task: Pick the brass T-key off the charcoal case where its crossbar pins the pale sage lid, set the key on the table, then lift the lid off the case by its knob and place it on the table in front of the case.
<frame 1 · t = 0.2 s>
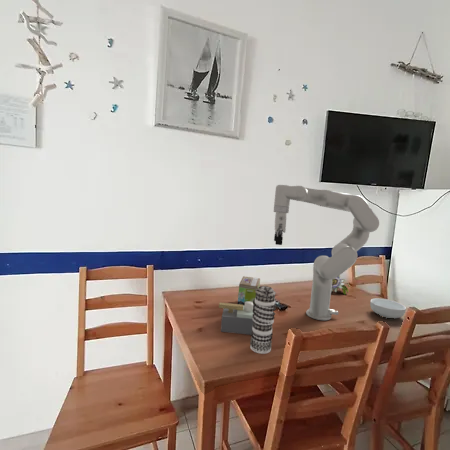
hand: (277, 242, 153), 37 cm above the table, fingers open, 9 cm apart
case: (240, 327, 137), on the table
passion flower: (336, 291, 198), on the table
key: (230, 311, 136), point 7 cm above the table, touching case
tea box: (247, 307, 161), on the table
cereal bowl: (386, 316, 163), on the table
lid: (248, 313, 136), point 7 cm above the table, touching case
decorative candle: (260, 348, 121), on the table
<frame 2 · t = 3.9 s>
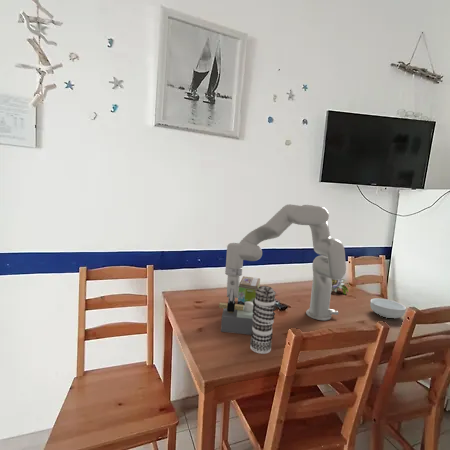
hand: (230, 309, 136), 8 cm above the table, fingers closed on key, 2 cm apart
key: (230, 311, 136), point 7 cm above the table, touching gripper
everything else where it was.
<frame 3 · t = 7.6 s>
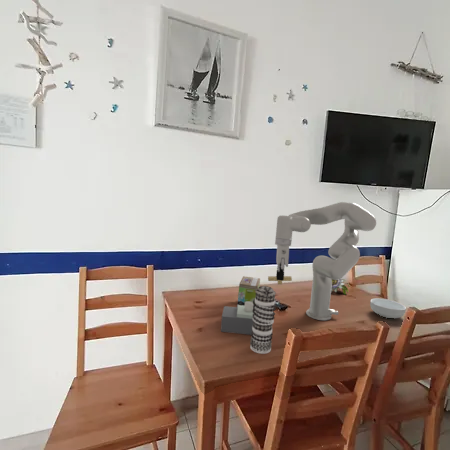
hand: (279, 278, 145), 21 cm above the table, fingers closed on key
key: (279, 283, 145), point 18 cm above the table, tilted 6°, touching gripper
everything else where it was.
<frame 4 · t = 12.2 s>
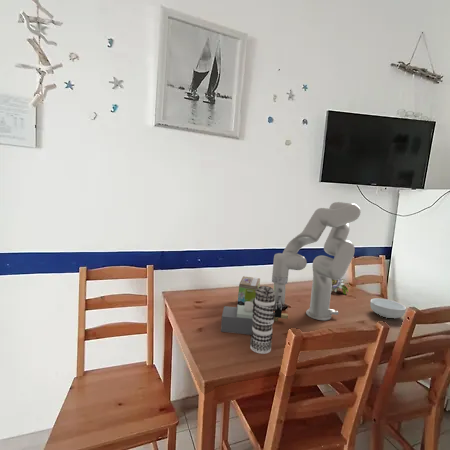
hand: (276, 312, 147), 4 cm above the table, fingers open, 9 cm apart
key: (275, 320, 147), on the table
everything else where it was.
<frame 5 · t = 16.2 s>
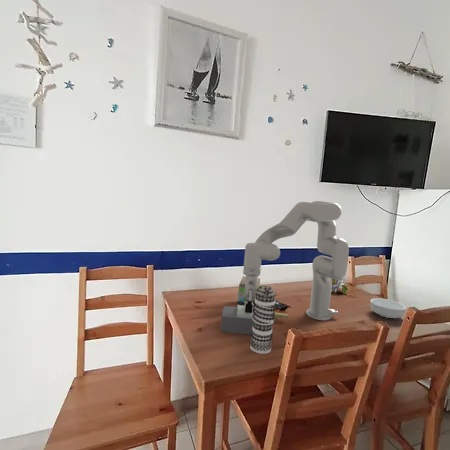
hand: (248, 309, 136), 9 cm above the table, fingers closed on lid, 4 cm apart
lid: (248, 313, 136), point 7 cm above the table, touching case, gripper
everything else where it was.
when the fingers open (3 cm above the table, at t = 24.0 s): lid drops 2 cm, on the table.
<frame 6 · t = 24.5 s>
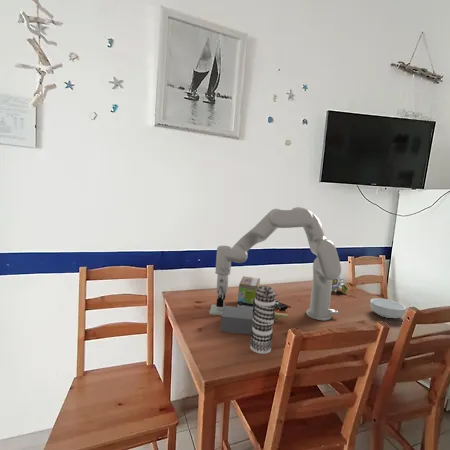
hand: (220, 303, 153), 4 cm above the table, fingers open, 9 cm apart
lid: (220, 312, 154), on the table
everything else where it was.
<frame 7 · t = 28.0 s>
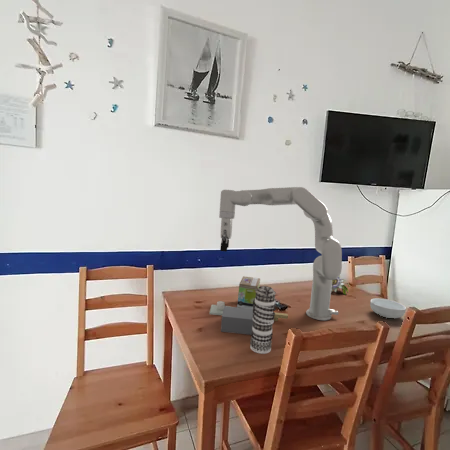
hand: (224, 249, 150), 32 cm above the table, fingers open, 9 cm apart
nothing on the table moved.
at the end: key inside the target area (0.1 cm from its centre), on the table; lid inside the target area (0.0 cm from its centre), on the table; lid touching table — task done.
